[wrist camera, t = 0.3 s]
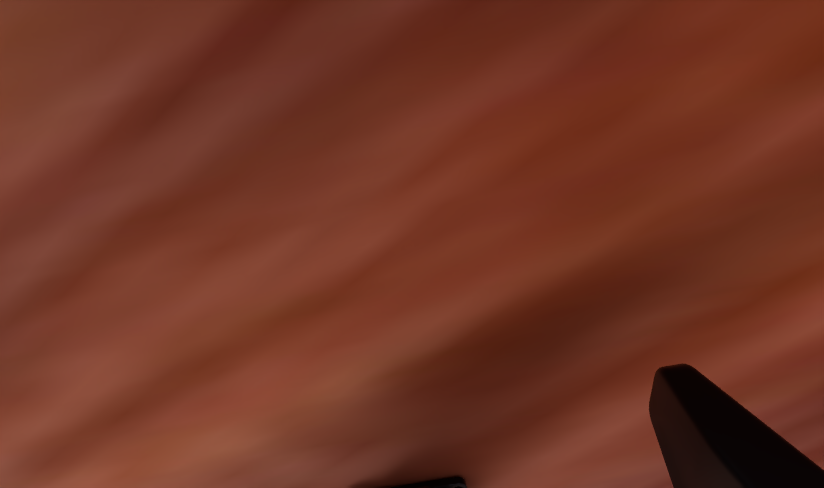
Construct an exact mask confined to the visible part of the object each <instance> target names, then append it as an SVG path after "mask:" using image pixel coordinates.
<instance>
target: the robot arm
mask: <svg viewBox="0 0 824 488" xmlns="http://www.w3.org/2000/svg"><path fill="white" fill-rule="evenodd" d="M649 412H650V418H651V421H652V424H653V427H654V430H655V433H656V436H657V439H658V442H659V445H660V448H661V451H662V454H663V457H664V460H665V463H666V466H667V469H668V472H669V475H670V478H671V481H672V484H673V487H674V488H824V470H823V469H821V468H820V467H819V466H818V465H816V464H815V463H814V462H813V461H811V460H810V459H809V458H808V457H806V456H805V455H804V454H802V453H801V452H800V451H799V450H797V449H796V448H795V447H794V446H792V445H791V444H790V443H789V442H787V441H786V440H785V439H783V438H782V437H781V436H780V435H778V434H777V433H776V432H775V431H773V430H772V429H771V428H770V427H768V426H767V425H766V424H764V423H763V422H762V421H761V420H759V419H758V418H757V417H756V416H754V415H753V414H752V413H751V412H749V411H748V410H747V409H745V408H744V407H743V406H742V405H740V404H739V403H738V402H737V401H735V400H734V399H733V398H732V397H730V396H729V395H728V394H726V393H725V392H724V391H723V390H721V389H720V388H719V387H718V386H716V385H715V384H714V383H713V382H711V381H710V380H709V379H707V378H706V377H705V376H704V375H702V374H701V373H700V372H699V371H697V370H696V369H695V368H693V367H692V366H690V365H687V364H677V365H671V366H665V367H660V368H659V369H658V370H657V371H656V373H655V377H654V382H653V387H652V392H651V397H650V402H649ZM393 488H467V486H466V481H465V479H464V478H462V477H454V478H448V479H442V480H436V481H430V482H423V483H417V484H411V485H405V486H399V487H393Z"/></svg>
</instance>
